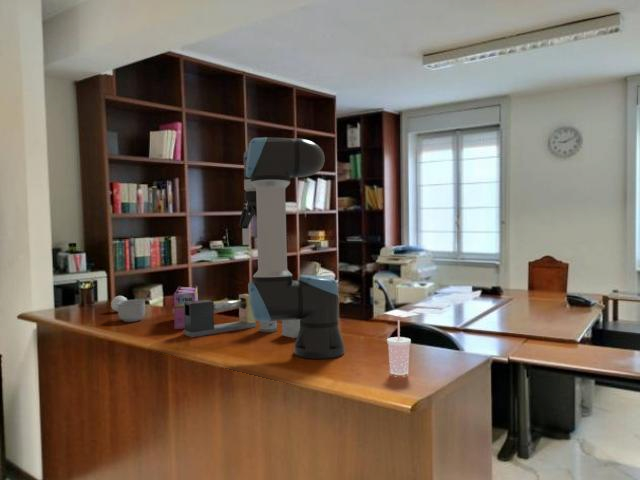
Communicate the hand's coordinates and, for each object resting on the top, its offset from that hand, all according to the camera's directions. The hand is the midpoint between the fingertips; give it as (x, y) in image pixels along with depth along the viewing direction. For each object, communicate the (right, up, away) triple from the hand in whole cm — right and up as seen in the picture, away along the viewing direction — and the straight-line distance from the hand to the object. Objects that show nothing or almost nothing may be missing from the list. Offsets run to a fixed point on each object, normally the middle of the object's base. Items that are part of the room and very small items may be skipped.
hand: (255, 245), depth 201 cm
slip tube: (-9, -24, -10) cm, 27 cm away
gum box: (-27, -31, +3) cm, 42 cm away
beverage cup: (+46, -33, -68) cm, 89 cm away
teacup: (-53, -31, +11) cm, 62 cm away
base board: (-11, -31, -12) cm, 35 cm away
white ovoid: (-65, -31, +29) cm, 78 cm away
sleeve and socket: (-11, -30, -12) cm, 34 cm away
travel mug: (+7, -31, -14) cm, 35 cm away
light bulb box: (+18, -32, -20) cm, 42 cm away
